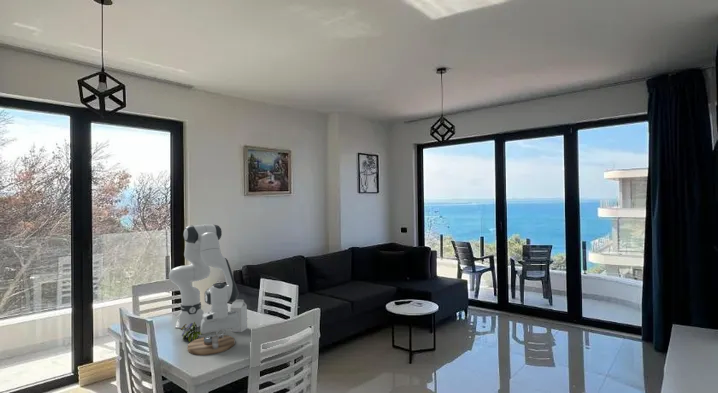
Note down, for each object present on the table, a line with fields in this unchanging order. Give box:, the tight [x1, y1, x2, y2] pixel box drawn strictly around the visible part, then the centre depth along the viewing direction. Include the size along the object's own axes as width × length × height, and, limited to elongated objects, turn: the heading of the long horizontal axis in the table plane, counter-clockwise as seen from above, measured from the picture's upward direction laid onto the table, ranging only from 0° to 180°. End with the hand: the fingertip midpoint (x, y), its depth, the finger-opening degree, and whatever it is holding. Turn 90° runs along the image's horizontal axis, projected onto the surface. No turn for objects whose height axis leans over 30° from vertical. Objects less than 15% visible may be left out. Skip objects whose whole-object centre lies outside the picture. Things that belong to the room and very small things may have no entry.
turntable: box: [187, 334, 235, 356], centre depth 220 cm, size 24×24×8 cm
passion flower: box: [180, 322, 203, 343], centre depth 233 cm, size 11×11×12 cm
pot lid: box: [203, 334, 217, 345], centre depth 220 cm, size 7×7×3 cm
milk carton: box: [229, 299, 248, 333], centre depth 247 cm, size 7×7×19 cm
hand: (220, 338), depth 222 cm, fingers closed
